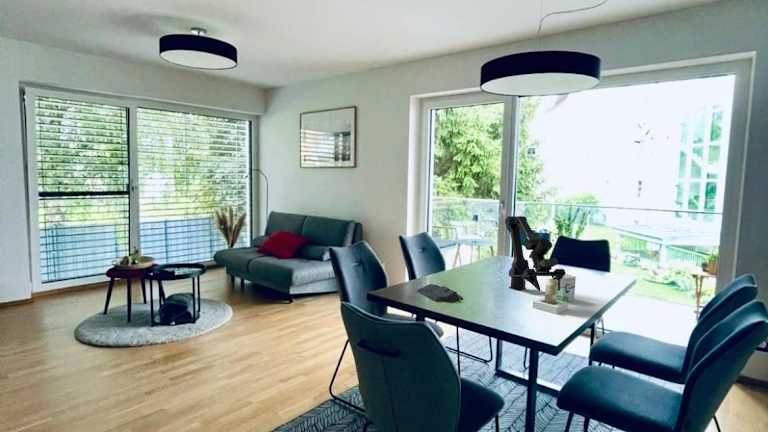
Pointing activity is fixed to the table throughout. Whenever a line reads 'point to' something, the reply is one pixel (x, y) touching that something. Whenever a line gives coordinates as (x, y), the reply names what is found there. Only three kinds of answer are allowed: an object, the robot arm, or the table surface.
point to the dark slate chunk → (439, 293)
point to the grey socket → (550, 306)
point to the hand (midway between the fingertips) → (549, 290)
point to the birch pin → (551, 291)
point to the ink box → (566, 288)
